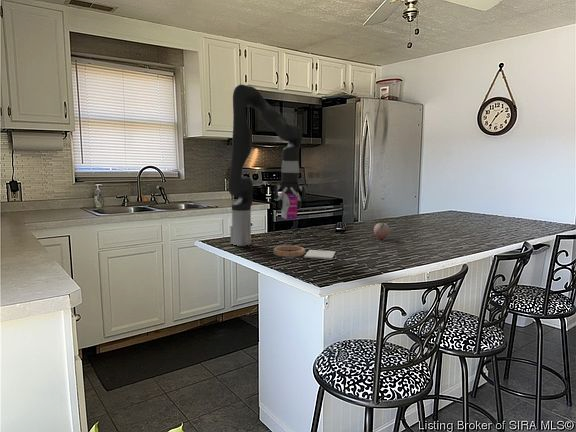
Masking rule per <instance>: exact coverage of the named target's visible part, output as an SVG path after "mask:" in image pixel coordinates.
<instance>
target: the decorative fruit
mask: <svg viewBox="0 0 576 432" xmlns="http://www.w3.org/2000/svg"><path fill="white" fill-rule="evenodd" d="M373 233H374V235H375V237H376V238H378V239H379V240H384V239H385V238H387V237H389V235H390V233H391V227H390V226H389V225H388V224H387V223H385V222H383V221H382V220H381V221H380V222H378V223H376V224H375V225H374V227H373Z"/></svg>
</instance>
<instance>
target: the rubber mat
mask: <svg viewBox="0 0 576 432" xmlns="http://www.w3.org/2000/svg"><path fill="white" fill-rule="evenodd" d="M336 253H337V252H336V251H335V250H334V251H332V250H320V249H319V250H315V249H309V250H308V251H307V252H305V254H304V255H303V258H306V259H307V258H309V259H321V260H322V259H324V260H333V258H334V256H335V255H336Z"/></svg>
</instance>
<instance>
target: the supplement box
mask: <svg viewBox="0 0 576 432" xmlns="http://www.w3.org/2000/svg"><path fill="white" fill-rule="evenodd" d="M297 198H298V196H296V194H286V193H284V195H283V196H282V199H281V200H282V208H281V213H280V214H281V215H280V216H281V217H280V219H283V220H284V221H288V220H289V221H291V220H292V221H296V220H298V209H297V201H298V199H297Z"/></svg>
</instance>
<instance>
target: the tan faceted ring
mask: <svg viewBox="0 0 576 432" xmlns="http://www.w3.org/2000/svg"><path fill="white" fill-rule="evenodd" d="M273 255H275V256H279V257H286V258H287V257H288V258H295V257H300V256H305V255H306V248H304V247H302V246H298V245H279V246H275V247H273Z"/></svg>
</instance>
